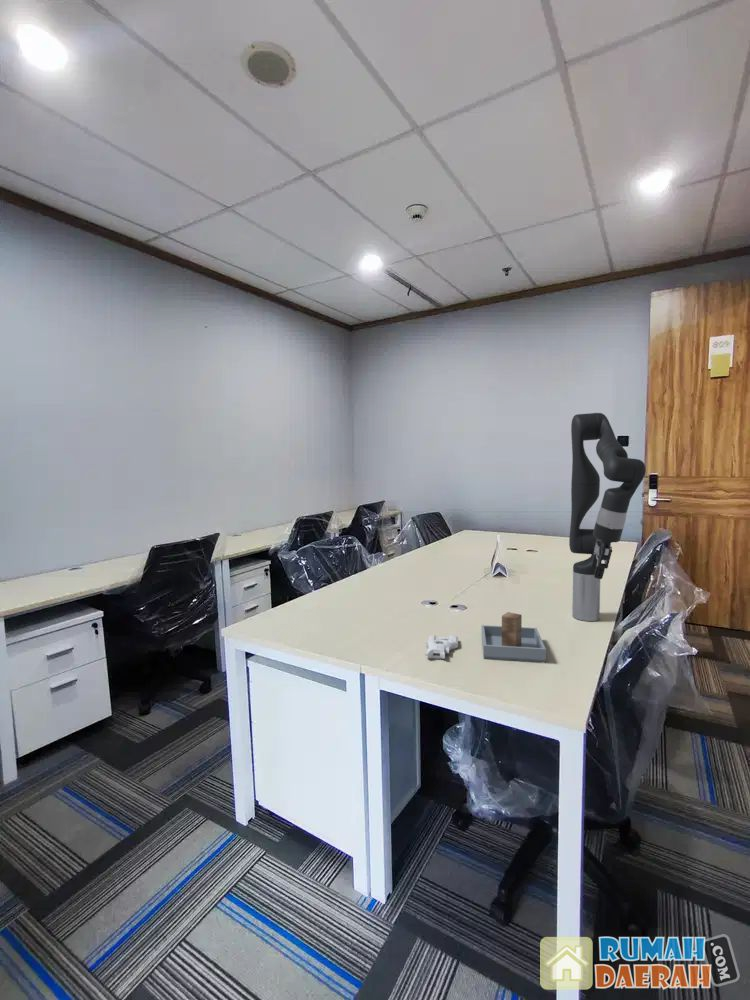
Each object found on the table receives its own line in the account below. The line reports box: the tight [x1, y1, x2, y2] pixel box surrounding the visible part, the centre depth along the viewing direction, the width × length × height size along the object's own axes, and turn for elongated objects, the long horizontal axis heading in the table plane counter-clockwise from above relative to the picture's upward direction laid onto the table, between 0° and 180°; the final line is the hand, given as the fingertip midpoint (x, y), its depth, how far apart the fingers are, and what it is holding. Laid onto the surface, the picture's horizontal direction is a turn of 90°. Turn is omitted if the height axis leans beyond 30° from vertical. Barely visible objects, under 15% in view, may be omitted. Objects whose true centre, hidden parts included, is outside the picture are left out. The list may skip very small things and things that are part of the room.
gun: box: [424, 634, 459, 660], centre depth 144 cm, size 18×4×10 cm
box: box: [481, 624, 547, 663], centre depth 143 cm, size 18×18×4 cm
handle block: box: [501, 611, 523, 647], centre depth 143 cm, size 4×4×10 cm
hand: (596, 572), depth 141 cm, fingers open, 8 cm apart
